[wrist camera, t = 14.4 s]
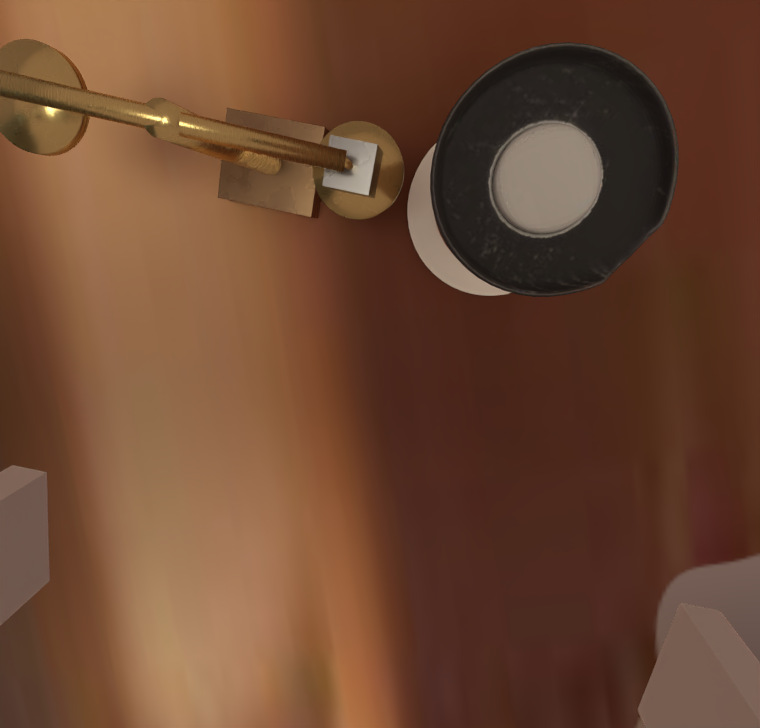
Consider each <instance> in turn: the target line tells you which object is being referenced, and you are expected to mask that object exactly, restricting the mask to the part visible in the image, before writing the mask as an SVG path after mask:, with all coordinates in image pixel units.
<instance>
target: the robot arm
mask: <svg viewBox="0 0 760 728" xmlns="http://www.w3.org/2000/svg"><path fill="white" fill-rule="evenodd" d="M49 581H50V579H49V541H48V503H47V472H43V471H39V470H34V469H29V468H24V467H19V466H14V465H12V466H10V467H8V468H6V469H5V470H3V471H1V472H0V625H1V624H2V623H4V622H5V621H6V620H7V619H8V618H9V617H10V616H11V615H12V614H14V613H15V612H16V611H17V610H18V609H19V608H20V607H21V606H22V605H23V604H25V603H26V602H27V601H28V600H29V599H30V598H31V597H32V596H33V595H34V594H36V593H37V592H38V591H39V590H40V589H41V588H42V587H43V586H44V585H46V584H47V583H48V582H49ZM638 712H639V714H640V717H641V719H642V721H643V724H644V726H645V728H760V663H759V661H758V660H757V659H756V657H755V656H754V655H753V653H752V652H751V651H750V649H749V648H748V647H747V645H746V644H745V643H744V641H743V640H742V639H741V638H740V636H739V635H738V634H737V632H736V631H735V630H734V628H733V627H732V626H731V625H730V623H729V622H728V620H727V619H726V618H725V617H724V615H723V614H722V613H721V611H719V610H714V609H709V608H703V607H699V606H694V605H689V604H685V603H680V604H679V606H678V609H677V612H676V614H675V617H674V619H673V622H672V624H671V627H670V629H669V632H668V634H667V637H666V640H665V642H664V645H663V647H662V649H661V652H660V654H659V657H658V659H657V662H656V664H655V667H654V670H653V672H652V675H651V677H650V680H649V682H648V685H647V687H646V690H645V692H644V695H643V697H642V700H641V702H640V705H639V707H638Z"/></svg>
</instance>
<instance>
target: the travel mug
mask: <svg viewBox="0 0 760 728" xmlns="http://www.w3.org/2000/svg"><path fill="white" fill-rule="evenodd" d="M677 173H678V142H677V135H676V129H675V126H674V122H673V119H672V115H671V113H670V111H669V108H668V106H667V104H666V102H665V100H664V98H663V96H662V95H661V93H660V92H659V90H658V89H657V87H656V86H655V84H654V83H653V82H652V81H651V80H650V79H649V78H648V77H647V75H646V74H645V73H644V72H642V71H641V70H640V69H639V68H638V67H636V66H635V65H634V64H633V63H632V62H630V61H628V60H627V59H625V58H623V57H622V56H620V55H618V54H616V53H614V52H611V51H609V50H606V49H604V48H601V47H596V46H592V45H588V44H581V43H569V42H568V43H551V44H546V45H541V46H537V47H533V48H530V49H527V50H524V51H521V52H518V53H516V54H514V55H512V56H510V57H508V58H506V59H504V60H502V61H501V62H499V63H498V64H496V65H495V66H493V67H492V68H490V69H489V70H487V71H486V72H485V73H484V74H483V75H481V76H480V77H479V78H478V79H477V80H476V81H475V82H473V83H472V85H471V86H470V87H469V88H468V89H467V90H466V91H465V92H464V94H463V95H462V96H461V97H460V99H459V100H458V101H457V103H456V104H455V106H454V107H453V108H452V110H451V112H450V114H449V115H448V117H447V119H446V121H445V123H444V125H443V127H442V130H441V132H440V135H439V137H438V140H437V143H436V146H435V150H434V154H433V158H432V165H431V173H430V193H431V202H432V208H433V212H434V217H435V221H436V225H437V228H438V231H439V233H440V236H441V238H442V240H443V241H444V243H445V245H446V246H447V247H448V249H449V250H450V251H451V253H452V254H453V255H454V256H455V257H456V258H457V259H458V261H459V262H460V263H461V264H462V265H463V266H464V267H465V268H466V269H467V270H469V271H470V272H471V273H473V274H474V275H475V276H476V277H478V278H479V279H481V280H483V281H484V282H486V283H488V284H489V285H491V286H494V287H496V288H499V289H501V290H504V291H507V292H511V293H515V294H518V295H525V296H533V297H551V296H559V295H566V294H571V293H576V292H580V291H583V290H587V289H590V288H593V287H595V286H598V285H600V284H602V283H603V282H605V281H606V280H607V279H608V277H609V276H610V275H611V274H612V273H613V272H614V271H615V270H616V269H617V268H618V267H619V266H620V265H621V264H623V263H624V262H625V261H626V260H627V259H628V258H629V257H630V256H631V255H632V254H633V253H634V252H635V251H636V250H637V249H638V248H639V247H640V245H641V244H642V243H643V242H644V241H645V240H646V239H647V238H648V237H649V236H650V235H652V234H653V233H654V232H655V231H656V230H657V229H658V228H659V227H660V226H661V225H662V224H663V222H664V220H665V218H666V216H667V214H668V211H669V209H670V206H671V202H672V199H673V196H674V191H675V186H676V182H677Z"/></svg>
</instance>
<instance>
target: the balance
mask: <svg viewBox="0 0 760 728" xmlns="http://www.w3.org/2000/svg"><path fill="white" fill-rule="evenodd" d="M90 116H91V117H95V118H100V119H104V120H109V121H113V122H118V123H122V124H127V125H131V126H136V127H140V128H145V129H146V130H147V131H148V132H149V133H150V134H151V135H152V136H154V137H156V138H159V139H162V140H165V141H168V142H171V143H174V144H177V145H180V146H183V147H186V148H189V149H192V150H194V151H197V152H200V153H203V154H206V155H209V156H212V157H215V158H218V159H221V160H222V163H221V173H220V182H219V192H218V198H222V199H227V200H232V201H237V202H241V203H246V204H251V205H256V206H261V207H265V208H270V209H275V210H280V211H284V212H289V213H294V214H299V215H303V216H308V217H314V218H318V213H319V207H320V201H321V199H322V201H323V202H324V203H325V204H326V205H327V207H328V208H330V209H331V210H332V211H333V212H335V213H337V214H338V215H341V216H343V217H346V218H350V219H357V220H363V219H369V218H372V217H375V216H378V215H380V214H381V213H383V212H384V211H386V210H387V209H388V208H389V207H390V206H391V205H392V204H393V203H394V201H395V200H396V199H397V197H398V195H399V193H400V191H401V188H402V185H403V180H404V162H403V158H402V155H401V152H400V150H399V148H398V146H397V144H396V142H395V141H394V139H393V138H392V137H391V136H390V135H389V134H388V133H387V132H386V131H385V130H384V129H382V128H381V127H379V126H377V125H375V124H372V123H369V122H364V121H352V122H347V123H344V124H341V125H339V126H337V127H336V128H334V129H333V130H331V131H329V130H327V129H326V128H325V127H322V126H317V125H312V124H306V123H301V122H296V121H291V120H286V119H281V118H276V117H271V116H266V115H261V114H256V113H251V112H245V111H240V110H235V109H230V108H227V114H226V122H223V121H218V120H214V119H210V118H206V117H201V116H198V115H196V114H194V113H192V112H190V111H188V110H186V109H184V108H182V107H180V106H178V105H176V104H173V103H171V102H169V101H167V100H165V99H163V98H153V99H151V100H150V101H148V102H147V103H146V104H145V103H141V102H137V101H132V100H128V99H124V98H120V97H115V96H111V95H107V94H102V93H98V92H94V91H89V90H87V87H86V84H85V82H84V79H83V77H82V75H81V74H80V72H79V70H78V69H77V67H76V66H75V65H74V64H73V62H72V61H71V60H70V59H69V58H68V57H67V56H65V55H64V54H63V53H61V52H60V51H58V50H57V49H55V48H53V47H50V46H48V45H46V44H44V43H42V42H39V41H36V40H30V39H20V40H15V41H13V42H10V43H8V44H6V45H5V46H3V47H2V48H1V49H0V131H1V132H2V134H3V135H4V136H5V137H6V138H7V139H8V140H9V141H10V142H12V143H13V144H14V145H16V146H17V147H19V148H21V149H23V150H25V151H28V152H31V153H35V154H40V155H47V156H55V155H60V154H63V153H66V152H68V151H69V150H71V149H72V148H74V147H75V146H76V145H77V144H78V143H79V142H80V140H81V139H82V137H83V136H84V134H85V132H86V129H87V126H88V122H89V117H90Z"/></svg>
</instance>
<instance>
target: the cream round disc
mask: <svg viewBox="0 0 760 728" xmlns="http://www.w3.org/2000/svg"><path fill="white" fill-rule="evenodd" d="M435 146H436V144H435V145H434V146H433V147H432V148H431V149H430V150H429V152H428V153H427V154H426V156H425V157H424V158H423V160H422V162H421V163H420V165H419V167H418V169H417V171H416V173H415V176H414V178H413V181H412V184H411V188H410V191H409V198H408V209H407V217H408V226H409V230H410V235H411V238H412V241H413V244H414V246H415V249H416V251H417V252H418V254H419V256H420V258H421V259H422V261H423V262H424V263H425V265H426V266H427V267H428V268H429V269H430V270H431V272H432V273H433V274H434V275H436V276H437V277H438V278H439V279H441V280H442V281H443V282H445V283H447V284H448V285H450V286H451V287H454V288H456V289H458V290H461V291H464V292H467V293H471V294H476V295H484V296H495V295H504V294H508V293H511V292H507V291H504V290H501V289H499V288H496V287H494V286H491V285H489V284H488V283H486V282H484V281H483V280H481V279H479V278H478V277H476V276H475V275H474V274H473V273H471V272H470V271H469V270H467V269H466V268H465V267H464V266H463V265H462V264H461V263H460V262H459V261H458V259H457V258H456V257H455V256H454V255H453V254H452V253H451V251H450V250H449V249H448V247H447V246H446V245H445V243H444V241H443V240H442V238H441V236H440V233H439V231H438V228H437V225H436V221H435V217H434V212H433V208H432V202H431V193H430V173H431V165H432V158H433V154H434V150H435Z"/></svg>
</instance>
